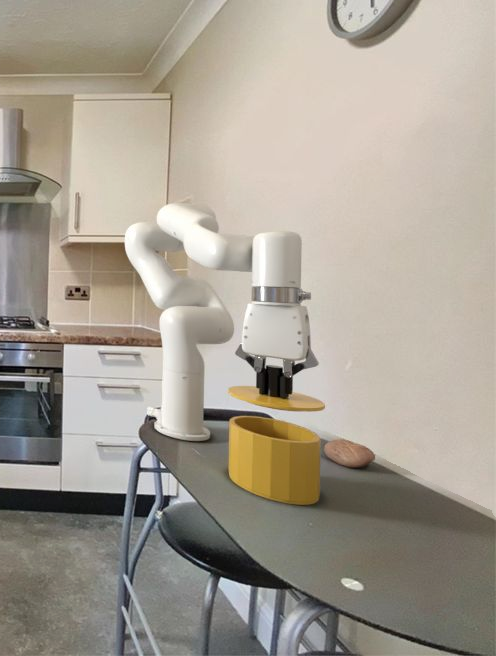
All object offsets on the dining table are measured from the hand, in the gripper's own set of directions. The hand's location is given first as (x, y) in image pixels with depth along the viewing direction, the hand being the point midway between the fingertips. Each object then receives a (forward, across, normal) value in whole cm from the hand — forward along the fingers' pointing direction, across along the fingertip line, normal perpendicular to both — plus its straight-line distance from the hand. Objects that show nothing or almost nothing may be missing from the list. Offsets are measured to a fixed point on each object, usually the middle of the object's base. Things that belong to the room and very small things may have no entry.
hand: (273, 394), depth 75 cm
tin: (+17, 0, 0) cm, 17 cm away
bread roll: (+17, -8, -26) cm, 32 cm away
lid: (+1, 0, 0) cm, 1 cm away
